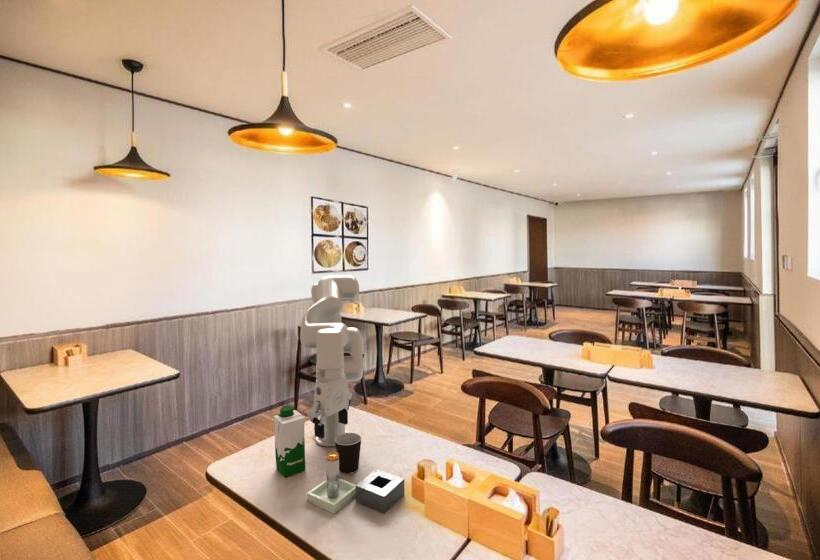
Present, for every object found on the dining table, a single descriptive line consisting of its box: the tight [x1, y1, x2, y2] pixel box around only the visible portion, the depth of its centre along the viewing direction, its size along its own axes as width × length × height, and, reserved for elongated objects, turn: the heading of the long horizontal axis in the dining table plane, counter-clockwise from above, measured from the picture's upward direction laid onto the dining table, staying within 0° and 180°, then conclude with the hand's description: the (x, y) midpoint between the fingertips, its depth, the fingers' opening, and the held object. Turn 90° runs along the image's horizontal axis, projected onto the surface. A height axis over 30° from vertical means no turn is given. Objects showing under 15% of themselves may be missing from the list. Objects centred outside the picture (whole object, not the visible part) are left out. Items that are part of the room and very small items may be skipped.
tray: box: [306, 477, 357, 515], centre depth 115 cm, size 10×10×2 cm
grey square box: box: [355, 468, 405, 515], centre depth 114 cm, size 10×10×5 cm
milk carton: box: [273, 405, 306, 479], centre depth 129 cm, size 9×9×20 cm
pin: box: [326, 451, 340, 499], centre depth 115 cm, size 4×4×12 cm
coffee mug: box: [334, 432, 362, 475], centre depth 132 cm, size 12×9×10 cm
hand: (331, 429), depth 114 cm, fingers open, 9 cm apart
